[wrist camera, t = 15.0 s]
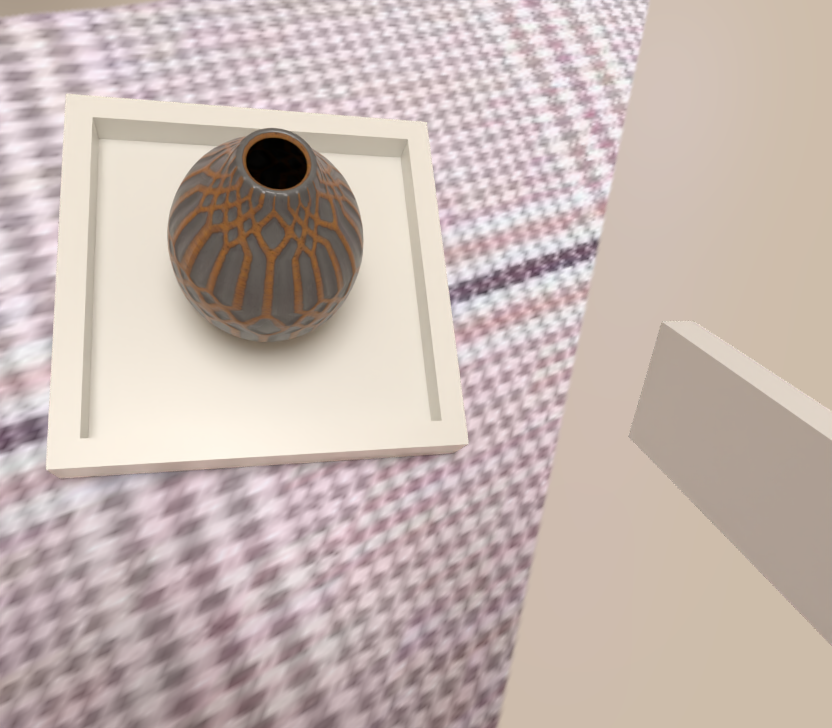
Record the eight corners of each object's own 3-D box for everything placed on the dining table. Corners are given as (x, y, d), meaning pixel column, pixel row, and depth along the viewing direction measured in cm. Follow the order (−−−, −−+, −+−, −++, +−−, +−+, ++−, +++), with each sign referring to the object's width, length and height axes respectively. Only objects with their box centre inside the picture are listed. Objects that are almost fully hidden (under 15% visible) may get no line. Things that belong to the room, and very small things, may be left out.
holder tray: (59, 478, 24) (46, 469, 22) (76, 125, 29) (65, 93, 27) (453, 453, 28) (468, 444, 26) (415, 148, 33) (426, 122, 31)
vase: (378, 305, 29) (435, 196, 21) (243, 396, 26) (249, 311, 18) (281, 184, 29) (300, 32, 21) (139, 261, 27) (101, 121, 19)
